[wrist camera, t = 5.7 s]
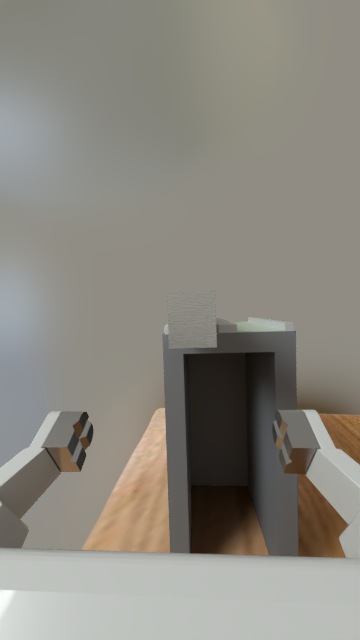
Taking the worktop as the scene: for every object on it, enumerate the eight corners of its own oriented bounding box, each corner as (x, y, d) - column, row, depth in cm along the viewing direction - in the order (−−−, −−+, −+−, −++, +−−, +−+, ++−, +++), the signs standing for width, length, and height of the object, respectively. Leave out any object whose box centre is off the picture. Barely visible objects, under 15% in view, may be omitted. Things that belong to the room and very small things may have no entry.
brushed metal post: (183, 324, 39) (183, 302, 39) (205, 324, 39) (205, 302, 39) (168, 348, 15) (166, 292, 15) (225, 347, 15) (223, 290, 15)
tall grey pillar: (180, 476, 41) (174, 319, 40) (257, 477, 41) (254, 317, 40) (171, 582, 25) (162, 326, 24) (298, 586, 25) (295, 322, 24)
